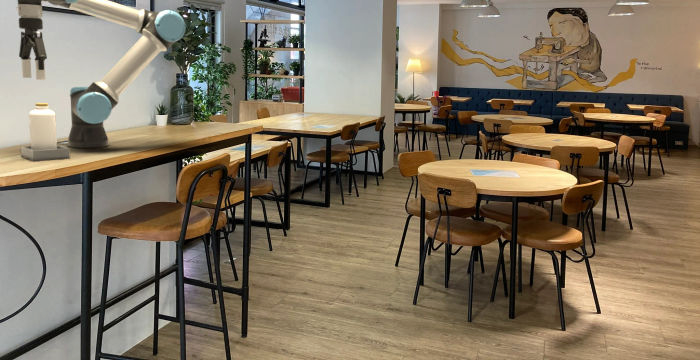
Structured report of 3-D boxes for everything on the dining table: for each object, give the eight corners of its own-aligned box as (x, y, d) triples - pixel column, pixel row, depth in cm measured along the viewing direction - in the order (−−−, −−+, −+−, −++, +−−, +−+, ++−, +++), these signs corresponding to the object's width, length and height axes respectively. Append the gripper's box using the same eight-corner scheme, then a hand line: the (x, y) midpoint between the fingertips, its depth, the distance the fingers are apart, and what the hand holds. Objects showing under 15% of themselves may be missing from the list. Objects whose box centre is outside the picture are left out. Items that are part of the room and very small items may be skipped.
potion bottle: (38, 152, 227) (35, 102, 223) (61, 153, 227) (59, 103, 223) (26, 156, 219) (23, 103, 215) (50, 157, 219) (47, 104, 215)
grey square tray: (56, 153, 230) (56, 144, 230) (69, 158, 222) (69, 148, 221) (21, 156, 222) (20, 146, 221) (33, 161, 214) (33, 151, 213)
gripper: (7, 17, 229) (10, 76, 233) (31, 16, 212) (35, 80, 216) (29, 19, 235) (32, 76, 239) (55, 17, 217) (58, 80, 221)
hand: (33, 78), depth 227 cm, fingers open, 13 cm apart
